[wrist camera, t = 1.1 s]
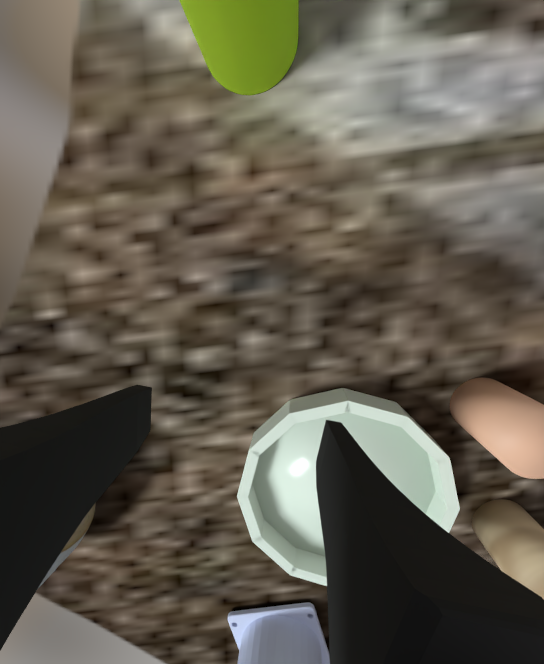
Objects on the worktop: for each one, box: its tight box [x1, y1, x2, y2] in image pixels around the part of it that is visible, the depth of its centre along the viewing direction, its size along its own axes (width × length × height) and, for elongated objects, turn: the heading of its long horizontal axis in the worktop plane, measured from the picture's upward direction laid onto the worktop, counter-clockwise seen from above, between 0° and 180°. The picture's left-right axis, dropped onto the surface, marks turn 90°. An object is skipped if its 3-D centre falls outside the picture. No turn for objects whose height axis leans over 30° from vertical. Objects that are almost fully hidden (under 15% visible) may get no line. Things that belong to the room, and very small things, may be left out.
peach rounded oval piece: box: [450, 377, 544, 479], centre depth 17 cm, size 4×4×5 cm
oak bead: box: [472, 499, 544, 599], centre depth 19 cm, size 4×4×5 cm
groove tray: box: [237, 388, 460, 586], centre depth 21 cm, size 15×15×2 cm
